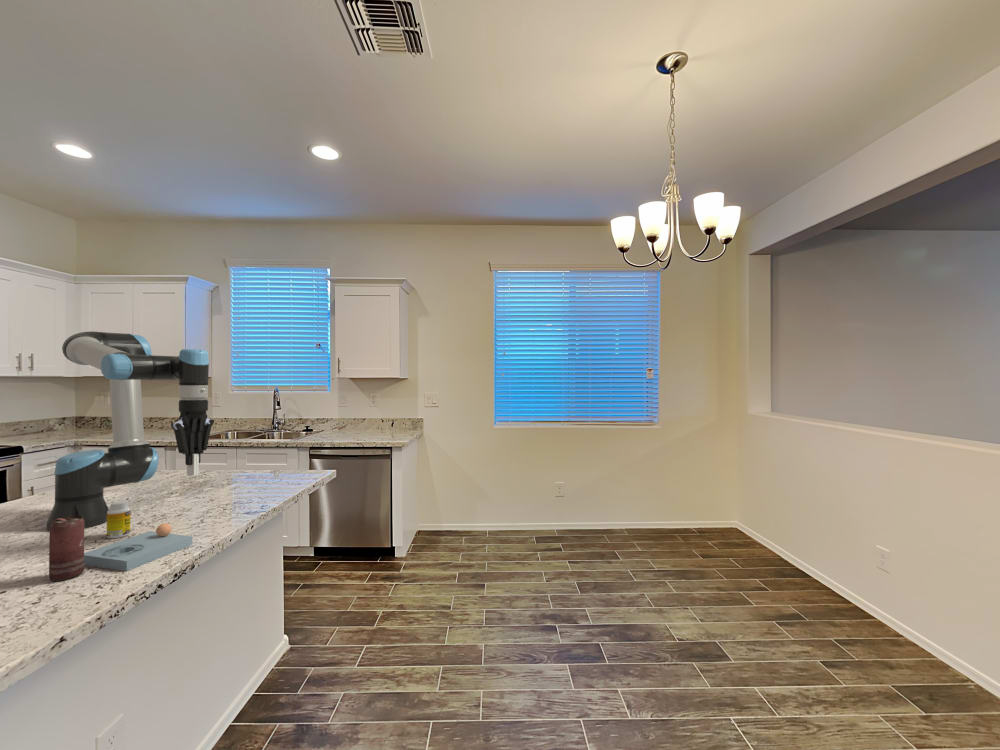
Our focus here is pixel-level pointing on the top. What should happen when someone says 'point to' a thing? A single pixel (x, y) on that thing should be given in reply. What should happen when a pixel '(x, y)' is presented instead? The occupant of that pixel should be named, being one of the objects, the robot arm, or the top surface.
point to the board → (136, 551)
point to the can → (66, 548)
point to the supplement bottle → (118, 520)
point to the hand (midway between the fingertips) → (192, 474)
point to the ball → (163, 529)
